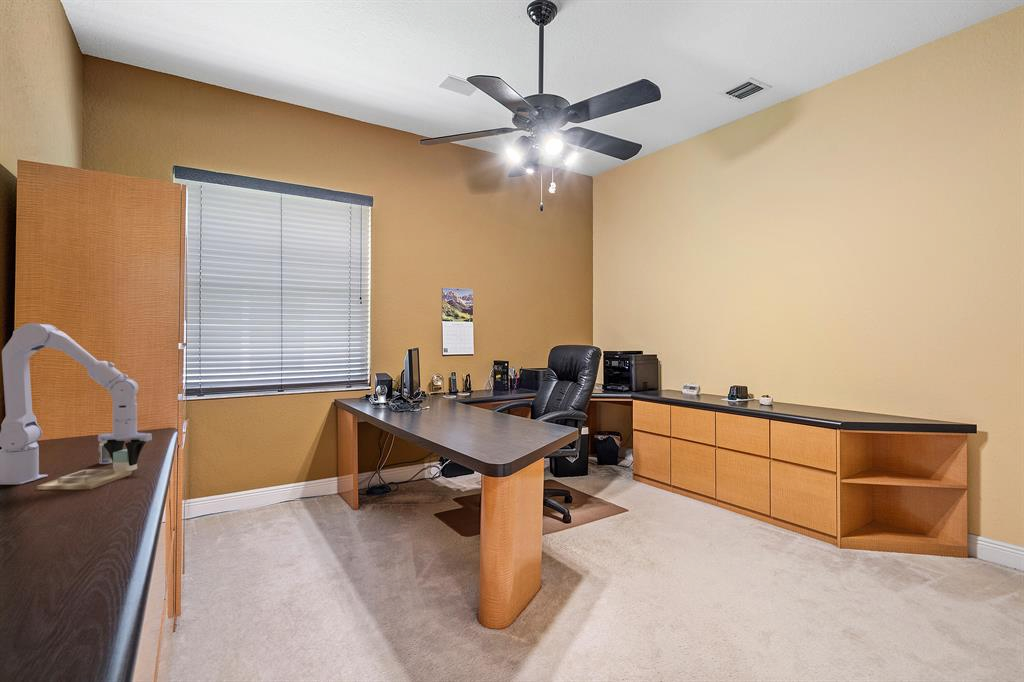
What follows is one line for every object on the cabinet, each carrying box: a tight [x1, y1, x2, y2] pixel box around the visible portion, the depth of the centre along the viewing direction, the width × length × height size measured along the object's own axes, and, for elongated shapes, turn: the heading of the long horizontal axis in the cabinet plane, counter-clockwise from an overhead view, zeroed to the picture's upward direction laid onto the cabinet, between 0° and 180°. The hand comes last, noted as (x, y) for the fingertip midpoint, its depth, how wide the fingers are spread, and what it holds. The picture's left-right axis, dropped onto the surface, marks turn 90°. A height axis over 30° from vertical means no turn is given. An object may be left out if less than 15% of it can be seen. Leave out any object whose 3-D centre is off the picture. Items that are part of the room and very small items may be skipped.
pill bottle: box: [98, 441, 113, 465], centre depth 155 cm, size 5×5×8 cm
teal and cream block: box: [112, 448, 138, 472], centre depth 145 cm, size 4×4×6 cm
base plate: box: [36, 468, 133, 491], centre depth 134 cm, size 14×14×2 cm
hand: (125, 464), depth 145 cm, fingers closed on teal and cream block, 4 cm apart
